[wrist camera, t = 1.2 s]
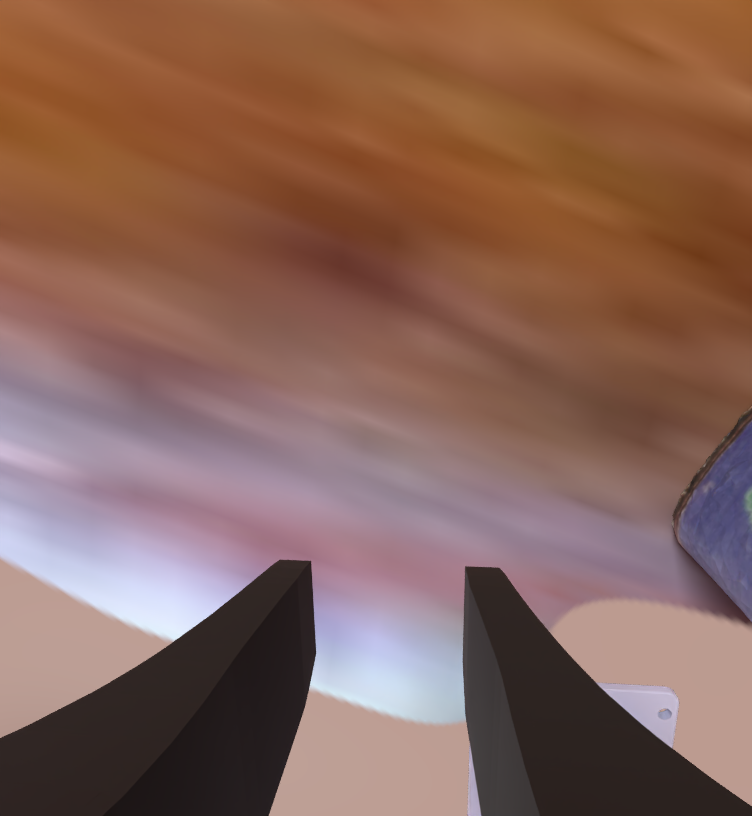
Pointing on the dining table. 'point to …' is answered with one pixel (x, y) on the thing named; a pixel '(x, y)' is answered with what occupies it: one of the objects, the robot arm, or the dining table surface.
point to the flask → (722, 515)
